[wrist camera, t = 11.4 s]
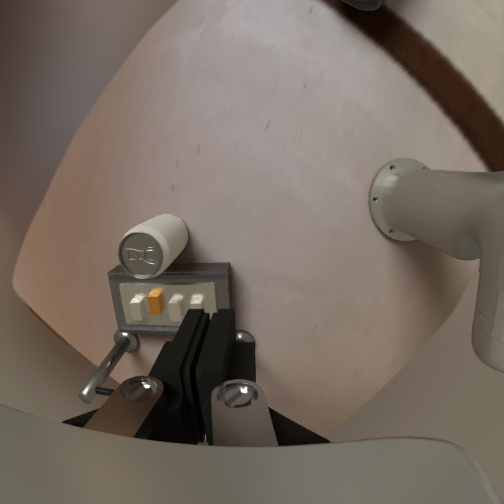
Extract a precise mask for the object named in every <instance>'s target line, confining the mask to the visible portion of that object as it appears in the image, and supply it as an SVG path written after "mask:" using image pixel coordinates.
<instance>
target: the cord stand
mask: <svg viewBox="0 0 504 504" xmlns="http://www.w3.org/2000/svg"><path fill="white" fill-rule="evenodd" d="M114 341H115V344H116V345H115V346H114V347H113V349H112V350H111V351H110V353H109V354H108V355H107V356H106V358H105V359H104V360H103V362H102V363H101V365H100V366H99V367H98V369H97V370H96V371H95V373H94V374H93V375H92V377H91V378H90V379H89V381H88V382H87V384H86V385H85V386H84V388H83V389H82V391H81V392H80V393H79V397H80V399H81V400H82V401H83V402H85V403H88V404H89V403H91V402H92V400H93V399H94V397H95V396H96V394H100V395H107V396H110V395H111V394H112V393H113V392H114V391H115V390H114V389H107V388H101V387H102V385H103V384H104V382H105V381H106V379H107V378H108V376H109V375H110V373H111V372H112V370H113V369H114V367H115V366H116V364H117V363H118V361H119V360H120V358H121V357H122V356H123V354H124V353H125V352H132V351H134V350H135V349H136V347H137V346H138V338H137V336H136V334H134V333H120V332H119V330H118V331H117V332H116V333H115V335H114ZM236 342H254V338H253V336H252V335H251V334H250V333H249V332H247V331H243V330H237V331H236Z"/></svg>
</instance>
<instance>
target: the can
mask: <svg viewBox="0 0 504 504" xmlns="http://www.w3.org/2000/svg"><path fill="white" fill-rule="evenodd" d="M187 242H188V232H187V228H186V226H185V224H184V223H183V221H182V220H181V219H180V218H178V217H177V216H175V215H172V214H162V215H159V216H156V217H154V218H152V219H150V220H148V221H146V222H144V223H142V224H139V225H137V226H136V227H134V228H132V229H131V230H129V231H128V232H127V233H126V234H125V236H124V237H123V239H122V241H121V243H120V245H119V250H118V256H119V261H120V263H121V265H122V267H123V269H124V270H125V271H126V272H127V273H128V274H129V275H131V276H133V277H135V278H138V279H147V278H152V277H155V276H157V275H159V274H161V273H162V272H163V271H164V270H165V269H166V268H167V267H168V266H169V265H170V264H171V263H172V262H173V261H174V260H175V258H176V257H177V256H178V255H179V254H180V253H181V252H182V251H183V249H184V248H185V246H186V245H187Z"/></svg>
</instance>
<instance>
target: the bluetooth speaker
mask: <svg viewBox="0 0 504 504" xmlns="http://www.w3.org/2000/svg"><path fill="white" fill-rule="evenodd" d="M341 1H342V2H344V3H346V4H348V5H350V6H352V7H354V8H357V9H359V10H363V11H374V10H377V9H378V8H379V7H380V6H381V5H382V4H383V2H384V1H385V0H341Z"/></svg>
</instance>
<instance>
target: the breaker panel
mask: <svg viewBox="0 0 504 504" xmlns="http://www.w3.org/2000/svg"><path fill="white" fill-rule="evenodd" d="M108 277H109V283H110V288H111V294H112V299H113V304H114V309H115V314H116V319H117V324H118V328H119V332H120V333H134V334H157V335H176V333H177V331H178V329H179V327H180V325H181V323H182V321H183V319H184V317H185V315H186V313H187V311H188V309H204V312H205V313H209V314H210V321H211V317H212V314H213V313H218V309H232V295H231V279H230V262H228V263H190V264H170V265H169V266H168V267H167V268H166V269H165V270H164V271H163V272H162V273H161V274H159V275H157V276H155V277H152V278H147V279H138V278H135V277H133V276H131V275H129V274H128V273H127V272H126V271H125V270H124V269H123V267H122V265H118V266H116V267H115V268H114V269H112V270H111V271H110V272H108Z"/></svg>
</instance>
